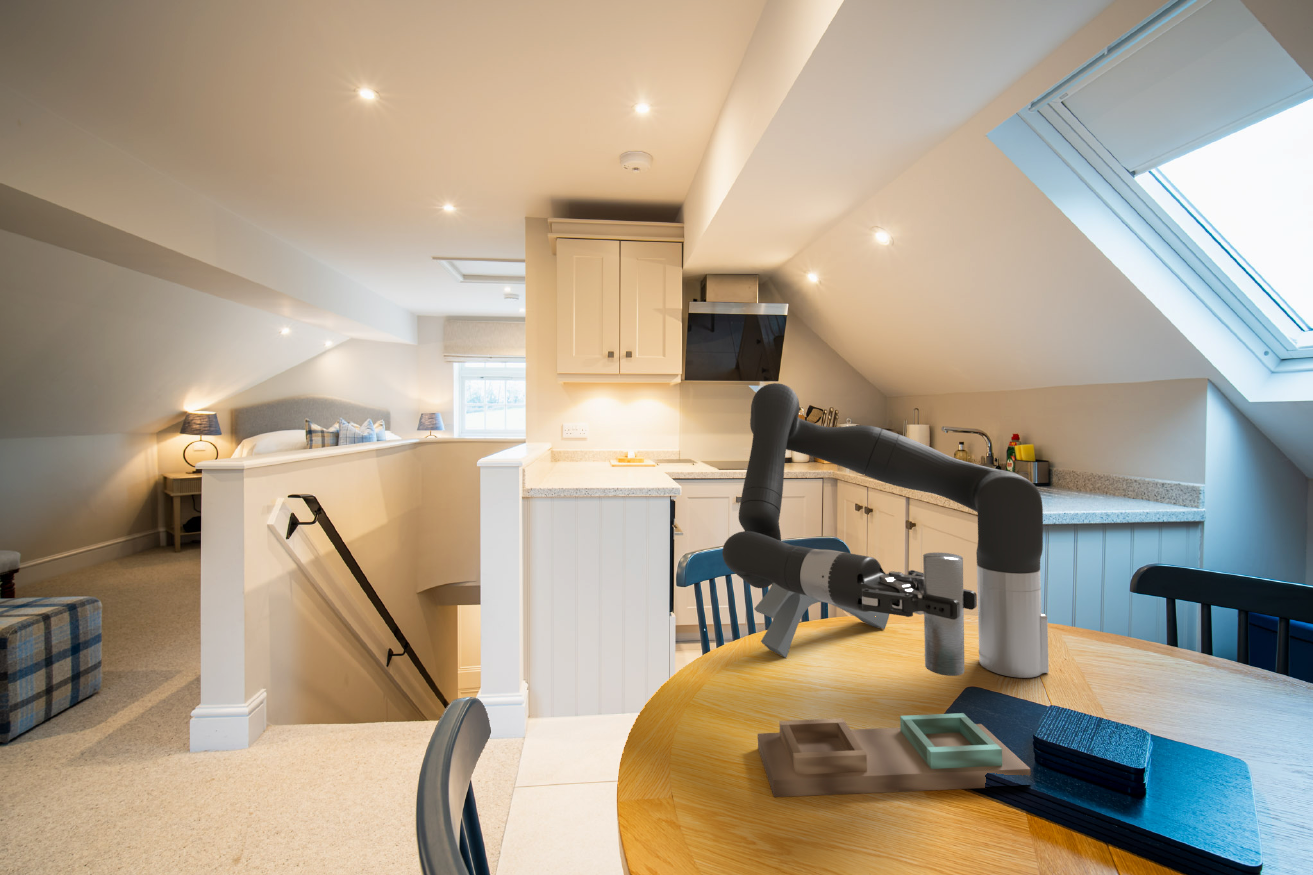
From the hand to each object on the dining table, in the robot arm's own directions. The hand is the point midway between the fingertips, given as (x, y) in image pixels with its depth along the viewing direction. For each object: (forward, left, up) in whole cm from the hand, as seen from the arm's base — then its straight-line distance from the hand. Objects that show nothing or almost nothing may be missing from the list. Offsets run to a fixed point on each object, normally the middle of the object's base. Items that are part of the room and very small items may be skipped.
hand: (966, 605), depth 69 cm
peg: (+2, -2, -8) cm, 9 cm away
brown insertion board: (+10, -2, -20) cm, 23 cm away
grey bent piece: (+4, -43, -21) cm, 48 cm away
